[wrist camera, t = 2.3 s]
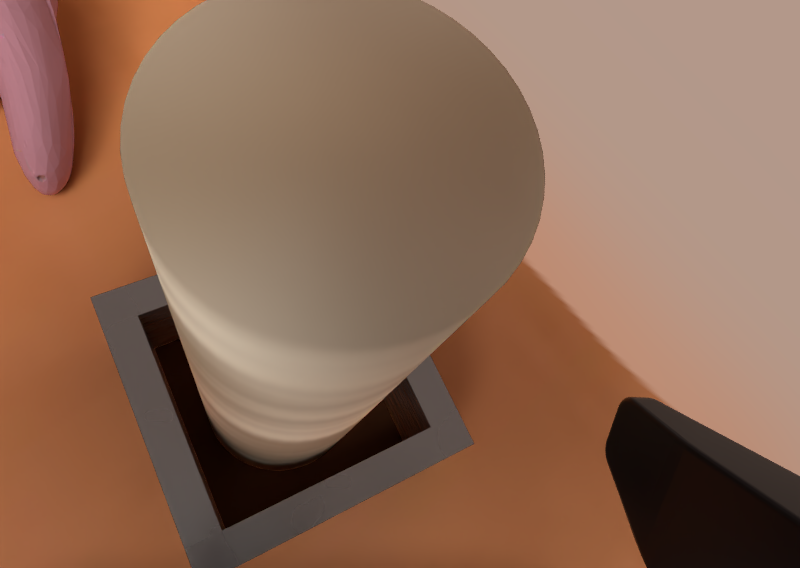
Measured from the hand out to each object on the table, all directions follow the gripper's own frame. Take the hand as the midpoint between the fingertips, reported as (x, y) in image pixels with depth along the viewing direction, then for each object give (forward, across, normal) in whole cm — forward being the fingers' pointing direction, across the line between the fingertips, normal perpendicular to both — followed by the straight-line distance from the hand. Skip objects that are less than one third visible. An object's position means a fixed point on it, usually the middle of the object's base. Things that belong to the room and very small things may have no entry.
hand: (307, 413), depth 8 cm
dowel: (+8, 0, +5) cm, 10 cm away
